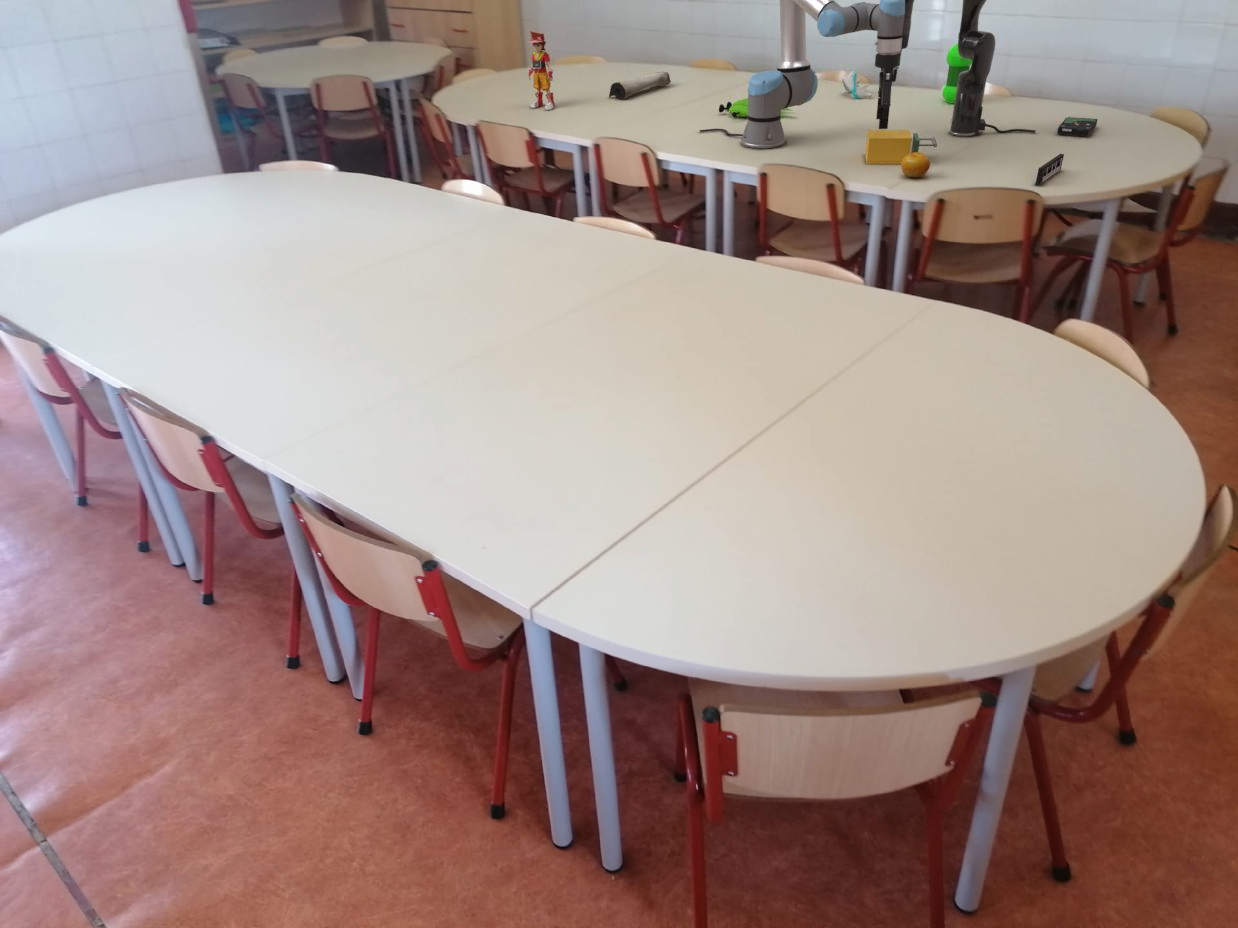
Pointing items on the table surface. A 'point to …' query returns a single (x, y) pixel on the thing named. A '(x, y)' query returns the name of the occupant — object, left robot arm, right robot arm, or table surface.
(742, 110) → the toy
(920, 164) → the fruit
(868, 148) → the cabinet
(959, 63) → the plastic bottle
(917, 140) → the drawer
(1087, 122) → the disk drive
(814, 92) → the left robot arm
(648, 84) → the rolled mat
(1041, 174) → the midi keyboard
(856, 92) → the anatomical model
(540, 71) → the toy
